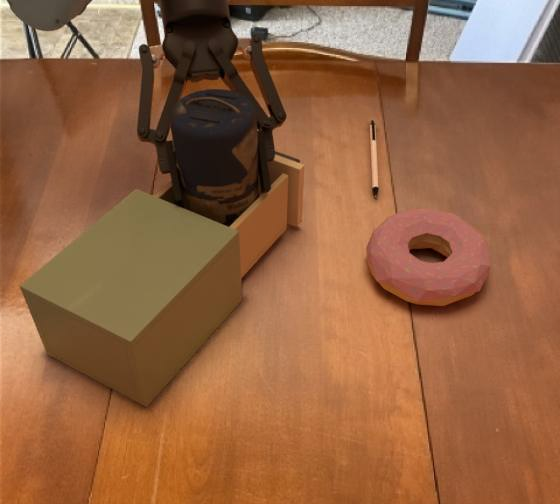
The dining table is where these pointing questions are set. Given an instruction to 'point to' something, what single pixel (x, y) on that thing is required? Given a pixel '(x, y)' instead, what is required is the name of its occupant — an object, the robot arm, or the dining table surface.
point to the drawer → (265, 209)
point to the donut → (422, 275)
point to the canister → (216, 153)
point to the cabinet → (137, 294)
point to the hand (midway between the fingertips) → (222, 196)
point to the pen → (374, 158)
